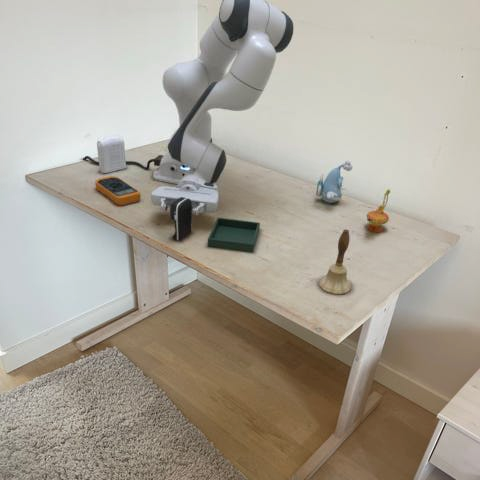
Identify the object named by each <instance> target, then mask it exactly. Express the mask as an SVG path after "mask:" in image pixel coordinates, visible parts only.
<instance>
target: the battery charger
mask: <svg viewBox="0 0 480 480" xmlns="http://www.w3.org/2000/svg"><path fill="white" fill-rule="evenodd" d="M192 217H193V210H192V203H191V200H190V199H189V198H184V197H180V198H178V199H176V200H175V201H174V202H172V203H171V205H170V207H169V220H171V221H173V225H174V234H172V239H174V240H176V241H178V242H180V241H182V240H184V239H185V238H186V237H188V236H189V235H190V234H191V233H192V219H193V218H192Z"/></svg>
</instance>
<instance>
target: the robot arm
mask: <svg viewBox="0 0 480 480" xmlns="http://www.w3.org/2000/svg"><path fill="white" fill-rule="evenodd" d="M293 36H294V22H293V20H292V18H291V17H290V15H288V14H287V13H286V12H285V11H283V10H280V9H279V8H278V7H276V6H275V5H273V4H272V3H270V2H269V1H267V0H222V2H221V4H220V7H219V10H218V14H217V15H216V16H215V17H214V19H213V20H212V22H211V24H210V25H209V27H208V28H207V29H206V31H205V33H204V34H203V36H202V37H201V38H200V41H199V49H200V53H199V55H198V57H196V58H195V59H193V60H189V61H183V62H178V63H176V64H173V65H172V66H169V67H168V68H166V70H165V71H164V73H163V74H162V87H163V90H164V93H165V94H166V95H167V96H168V98H170V100H171V101H173V103H174V105H175V107H176V110H177V114H178V122H179V124H178V125H179V126H178V128H177V129H176V130H175V131H174V132H173V133H172V135H171V136H170V138H169V140H168V143H167V151H168V152H167V153H165V154H163V155H162V154H159V155H157V156H156V157H155V158H151V159H149V160H148V161H147V163H146V167H145V165H143V164H141V163H140V162H138V161H131V160H126V165H129V164H130V165H136V166H138V167H139V168H141V169H143V170H146V171H147V170H150V166H151V165H150V164H151V163H153V166H155V167H156V166H157V168H156V169H155V170H154V171H153V174H152V176H153V180H156V181H160V182H164V183H170V184H174V185H176V187H175V186H167V185H161V186H160V185H159V186H158V187H157V188H155V189H154V190H153V191H152V192H151V194H150V200H151V201H150V202H151V204H152V205H153V206H157V207H160V211H163V212H167V210H168V208H170V205H171V203H172V202H174V201H175V200H176V199H178V198H180V197H184V198H189V199H190V200H191V203H192V216H193V215H194V216H199V214H201V213H204V212H205V213H212V214H214V213H217V212H218V210H219V197H220V196H219V187H218V185H217V184H215V183H217V182H218V180H219V179H220V177H221V175H222V173H223V171H224V169H225V166H226V164H227V155H226V151H225V150H224V149H223V148H222V147H220V146H218V145H216V144H215V143H213V138H212V116H211V114H210V112H209V111H210V110H213V109H220V110H227V111H234V112H242V111H247V110H249V109H251V108H253V107H254V106H255V105H256V104H257V102H258V101H259V99H260V98H261V96H262V95H263V93H264V90H265V89H266V86H267V84H268V83H269V80H270V78H271V75H272V73H273V70H274V67H275V64H276V60H277V54H279V53H282V52H283V51H284V50H285V49H287V48H288V46H289V45H290V43H291V41H292V38H293ZM232 61H233V62H232ZM231 63H232V64H231ZM230 65H231V66H230ZM228 67H230V68H229V69H228ZM227 69H228V72H227ZM84 157H85V158H84ZM84 157H83V158H82V161H86V160H89V161H90V162H92V163H93V164H96V165H99V161H96V160H95V159H94V158H92V157H91V156H89V155H86V156H84Z"/></svg>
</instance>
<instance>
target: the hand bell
mask: <svg viewBox="0 0 480 480" xmlns="http://www.w3.org/2000/svg"><path fill="white" fill-rule="evenodd" d="M349 245H350V230H349V229H343V231H342V233H341V235H340V237H339V238H338V242H337V251H338V253H337V257H336V261H335V263H333V264H331V265H330V266H329V268H328V271H327V273H326V275H325V276H323V277H322V278H321V279H320V280H319V281H318V284H319V288H320V289H322V290H323V291H324V292H326V293H329V294H333V295H344V294H347V293H349V292H350V291H351V289H352V285H351V283H350V281H348V277H347V275H348V274H347V273H348V272H347V271H348V269H347V267H346V266H344V265H343V263H344V258H345V254H346V252H347V250H348V248H349Z"/></svg>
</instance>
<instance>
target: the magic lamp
mask: <svg viewBox="0 0 480 480" xmlns="http://www.w3.org/2000/svg"><path fill="white" fill-rule="evenodd" d="M390 194H391V189H390V188H388V189H386V192H385V193H384V196H383V201H382V204H381V205H379V206H378V208H377V209H376V210H372V211H368V212H367V214H366V221H367V222H368V223H369V224H368V225H367V226H366V228H367V229H368V230H369V231H372V232H378V233H380V232H383V231H384V228H383V226H381V225H385V224H386V223H387V222H389V220H390V217H389V215H388V214H387V213H386V212H384V210H385V208H386V206H387V203H388V200H389V195H390Z"/></svg>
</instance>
